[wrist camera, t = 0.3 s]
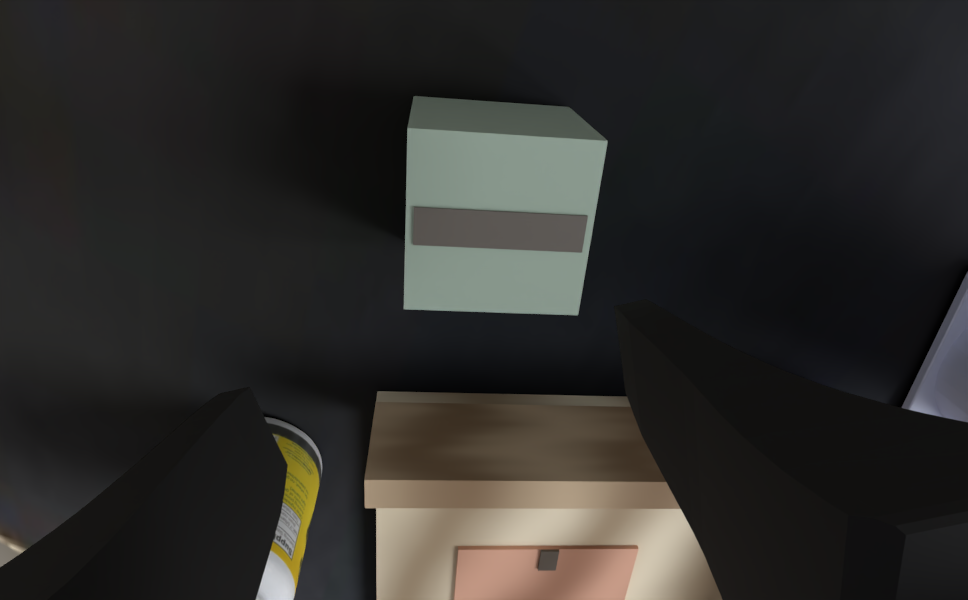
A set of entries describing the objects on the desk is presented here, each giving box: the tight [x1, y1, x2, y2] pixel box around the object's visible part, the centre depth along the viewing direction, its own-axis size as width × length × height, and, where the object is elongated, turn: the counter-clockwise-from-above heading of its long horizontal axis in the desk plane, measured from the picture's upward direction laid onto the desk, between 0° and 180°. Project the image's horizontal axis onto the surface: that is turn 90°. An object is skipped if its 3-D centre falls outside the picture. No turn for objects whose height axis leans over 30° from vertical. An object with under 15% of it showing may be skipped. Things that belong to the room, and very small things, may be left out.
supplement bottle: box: [256, 417, 322, 600], centre depth 20 cm, size 5×5×8 cm
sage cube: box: [404, 96, 608, 315], centre depth 17 cm, size 5×5×5 cm
